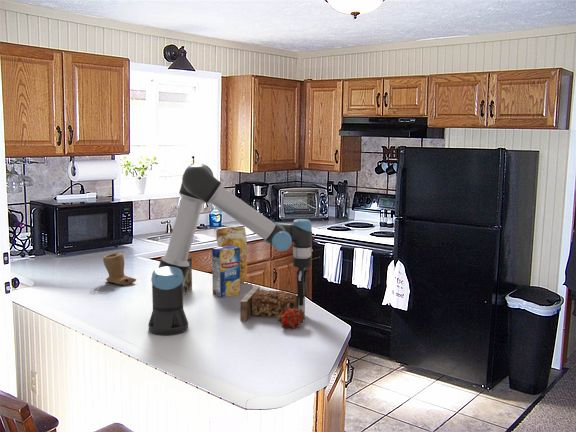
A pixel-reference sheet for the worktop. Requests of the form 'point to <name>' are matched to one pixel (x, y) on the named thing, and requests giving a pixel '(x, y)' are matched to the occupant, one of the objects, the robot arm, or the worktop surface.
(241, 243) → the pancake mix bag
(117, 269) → the tan boot figurine
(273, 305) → the bread
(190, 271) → the coffee box
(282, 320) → the dragon fruit
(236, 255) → the beverage box
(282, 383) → the worktop surface
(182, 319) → the robot arm
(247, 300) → the walnut board
